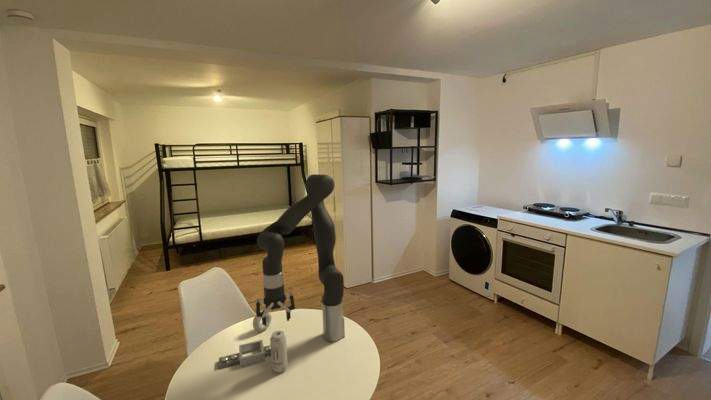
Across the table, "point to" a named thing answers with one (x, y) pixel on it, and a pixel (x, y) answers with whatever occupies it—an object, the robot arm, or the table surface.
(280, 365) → the energy drink can
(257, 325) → the donut
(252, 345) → the mounting bracket
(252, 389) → the table surface
